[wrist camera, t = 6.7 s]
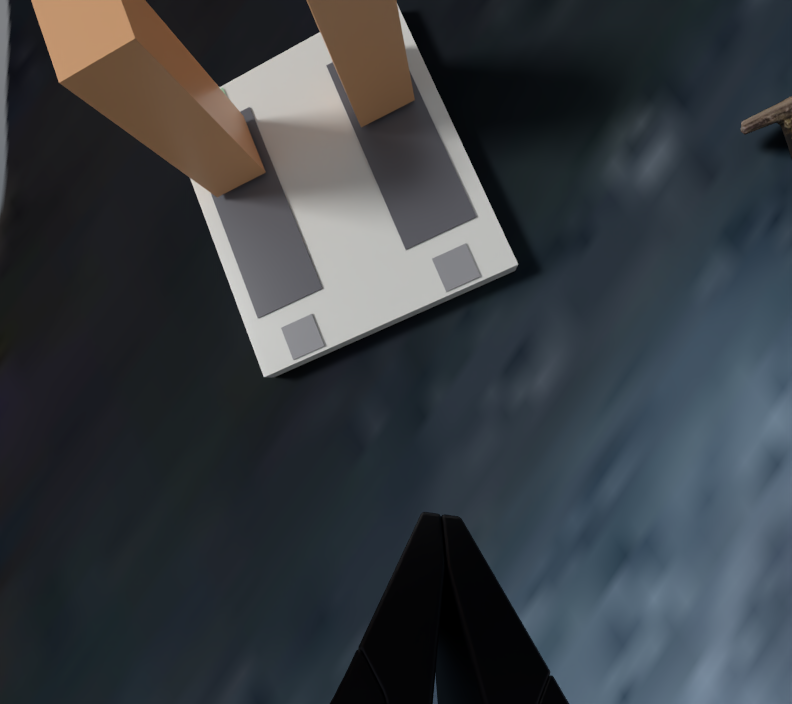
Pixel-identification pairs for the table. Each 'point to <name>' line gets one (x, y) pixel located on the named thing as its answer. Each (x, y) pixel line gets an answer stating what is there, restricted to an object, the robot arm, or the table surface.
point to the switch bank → (346, 211)
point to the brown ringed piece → (773, 120)
